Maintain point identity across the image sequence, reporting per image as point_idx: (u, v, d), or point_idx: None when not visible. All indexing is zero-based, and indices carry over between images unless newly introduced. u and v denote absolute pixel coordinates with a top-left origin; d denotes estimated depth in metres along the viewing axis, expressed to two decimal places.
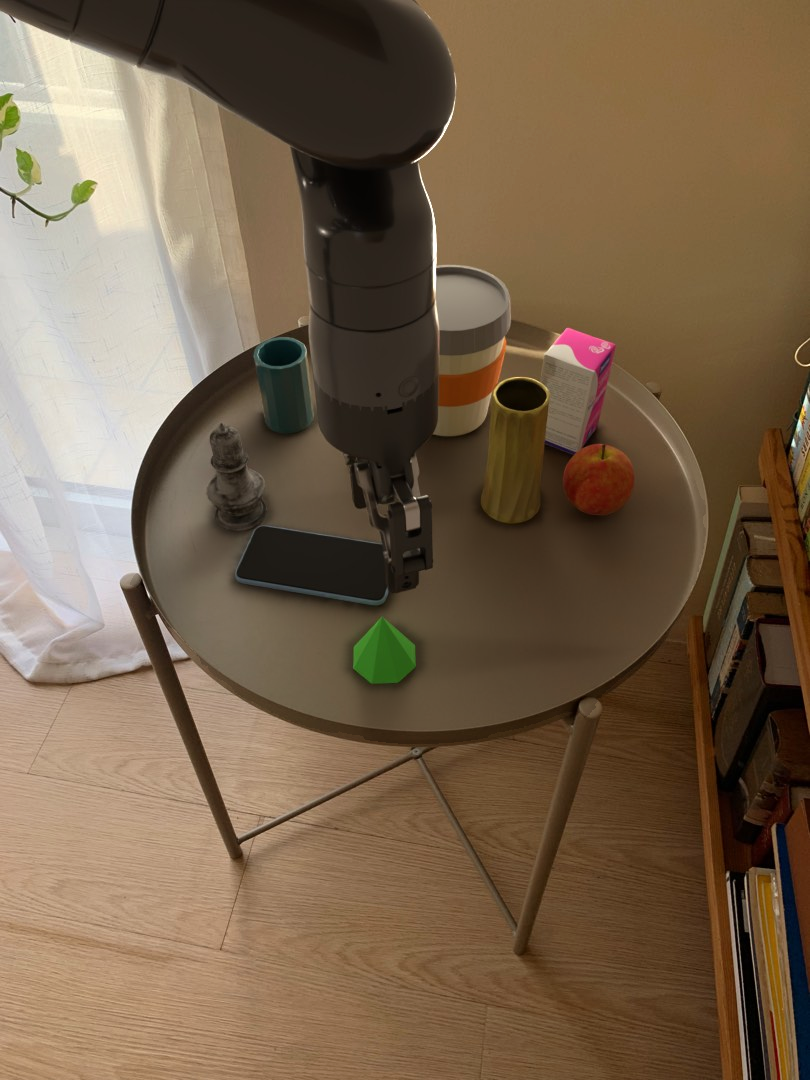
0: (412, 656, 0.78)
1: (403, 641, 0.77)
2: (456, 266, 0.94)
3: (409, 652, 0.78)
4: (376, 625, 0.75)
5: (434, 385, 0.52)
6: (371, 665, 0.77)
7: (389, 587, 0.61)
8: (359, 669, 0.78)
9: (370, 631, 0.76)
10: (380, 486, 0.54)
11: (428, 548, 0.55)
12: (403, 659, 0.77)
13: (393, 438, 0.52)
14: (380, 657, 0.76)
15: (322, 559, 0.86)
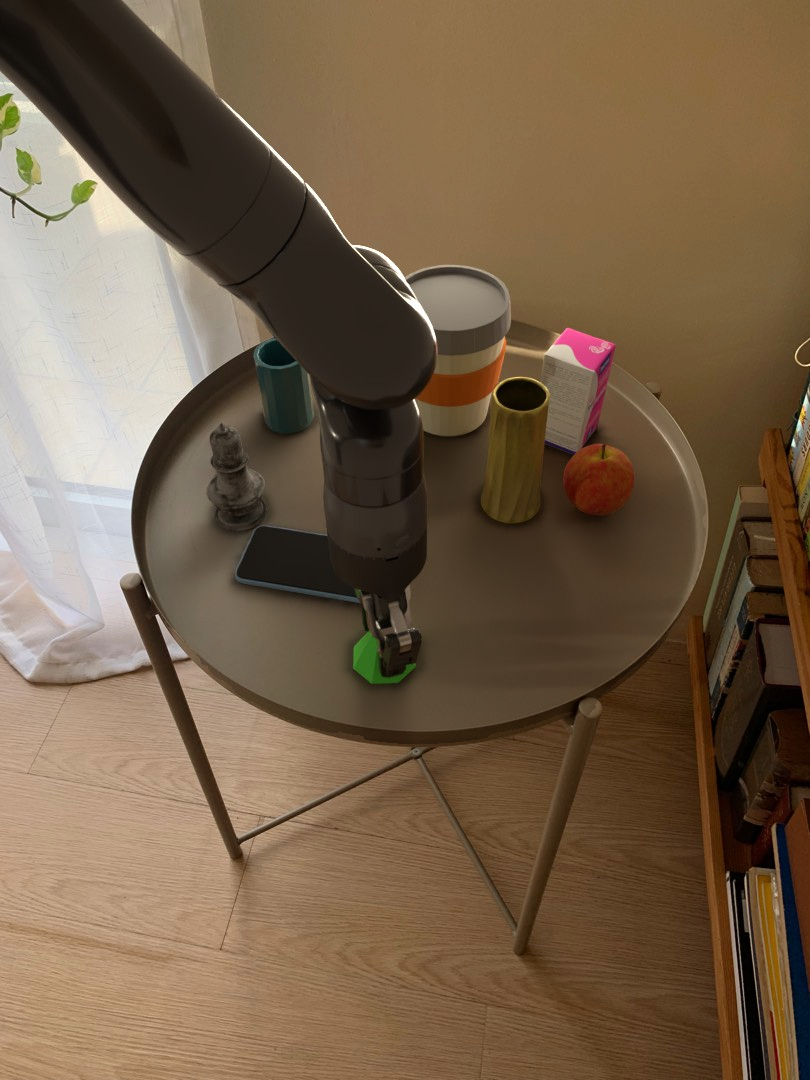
0: None
1: None
2: (456, 266, 0.94)
3: None
4: None
5: (423, 536, 0.65)
6: (371, 665, 0.77)
7: (382, 673, 0.75)
8: (359, 669, 0.78)
9: None
10: (380, 611, 0.67)
11: (414, 656, 0.70)
12: None
13: (391, 578, 0.65)
14: None
15: (322, 559, 0.86)
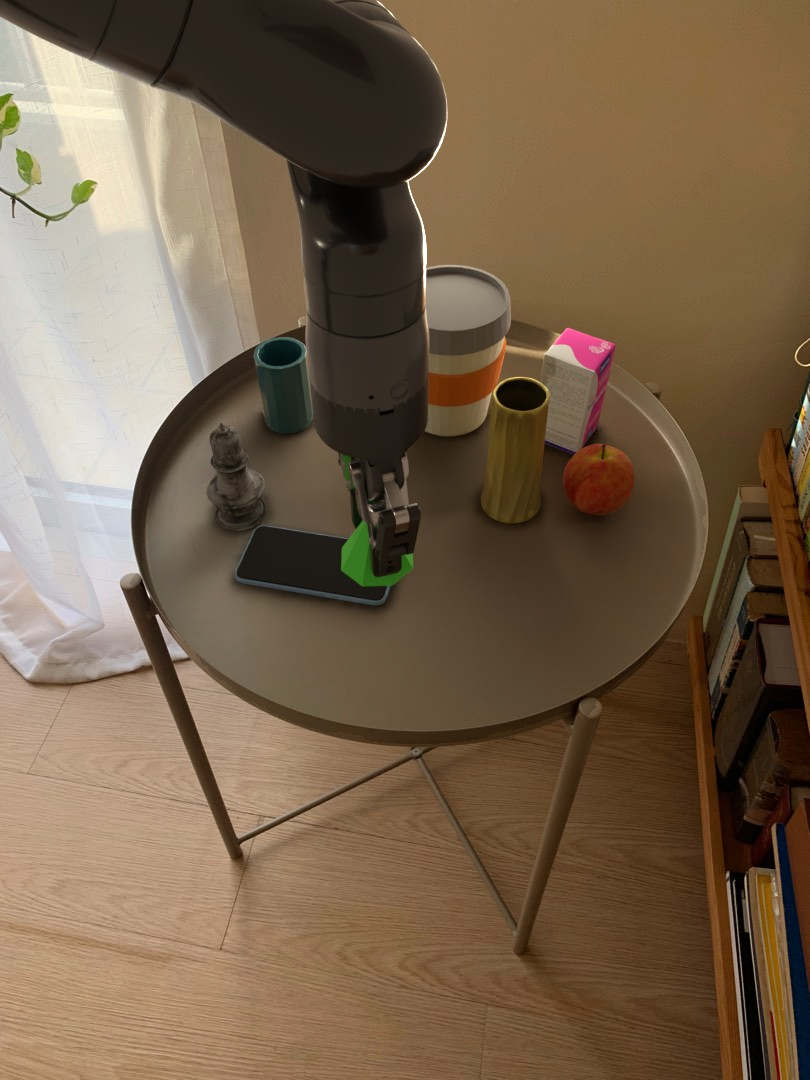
0: (409, 557, 0.68)
1: None
2: (456, 266, 0.94)
3: None
4: None
5: (424, 388, 0.55)
6: (362, 565, 0.66)
7: (374, 571, 0.65)
8: (348, 570, 0.67)
9: (361, 524, 0.66)
10: (372, 484, 0.57)
11: (412, 542, 0.59)
12: None
13: (385, 439, 0.55)
14: None
15: (322, 559, 0.86)
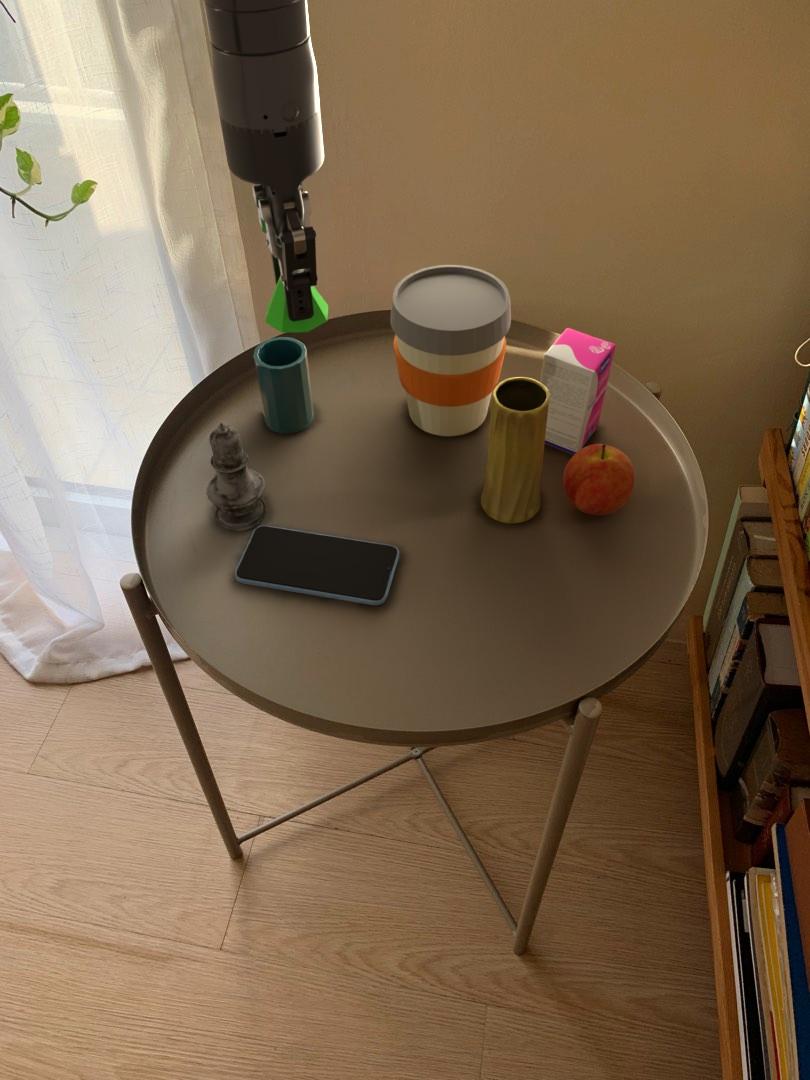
0: (323, 310, 0.78)
1: (314, 291, 0.78)
2: (456, 266, 0.94)
3: (321, 305, 0.78)
4: None
5: (314, 119, 0.65)
6: (281, 312, 0.77)
7: (289, 314, 0.76)
8: (270, 320, 0.78)
9: None
10: (276, 211, 0.68)
11: (313, 269, 0.70)
12: (313, 308, 0.77)
13: (282, 163, 0.65)
14: None
15: (322, 559, 0.86)
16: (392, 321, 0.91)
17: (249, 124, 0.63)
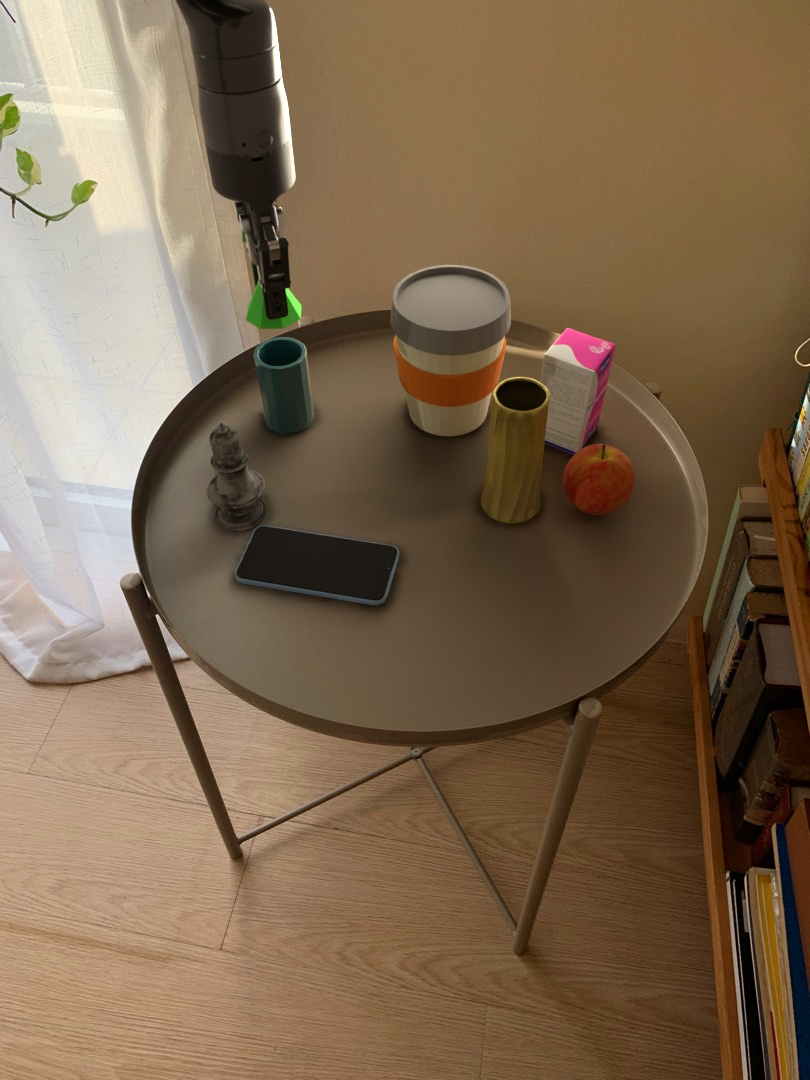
0: (297, 309, 0.90)
1: (288, 293, 0.89)
2: (456, 266, 0.94)
3: (295, 305, 0.89)
4: None
5: (286, 146, 0.76)
6: (260, 311, 0.88)
7: (266, 313, 0.87)
8: (250, 318, 0.89)
9: None
10: (254, 224, 0.79)
11: (286, 273, 0.81)
12: (288, 307, 0.89)
13: (259, 183, 0.77)
14: None
15: (322, 559, 0.86)
16: (392, 321, 0.91)
17: (230, 151, 0.74)
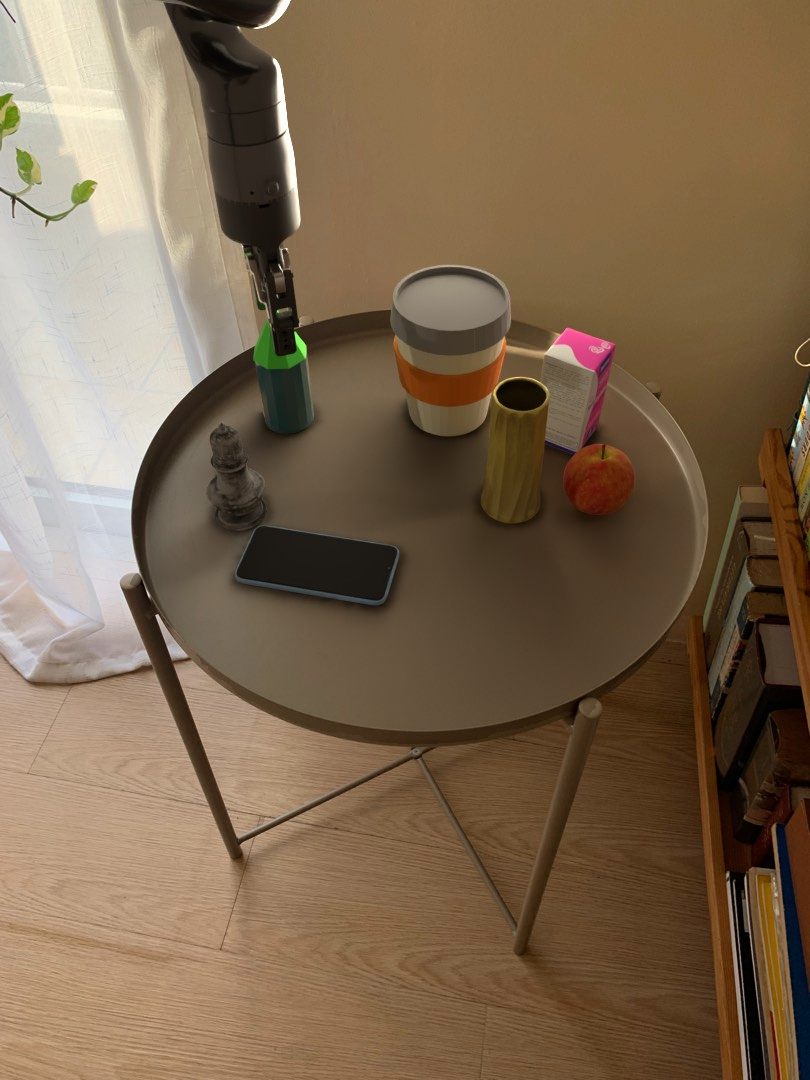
0: (302, 350, 0.93)
1: None
2: (456, 266, 0.94)
3: (300, 345, 0.93)
4: None
5: (292, 192, 0.79)
6: (266, 352, 0.92)
7: (275, 350, 0.88)
8: (257, 359, 0.93)
9: (265, 323, 0.92)
10: (261, 266, 0.82)
11: (294, 308, 0.83)
12: None
13: (265, 228, 0.80)
14: None
15: (322, 559, 0.86)
16: (392, 321, 0.91)
17: (238, 198, 0.78)
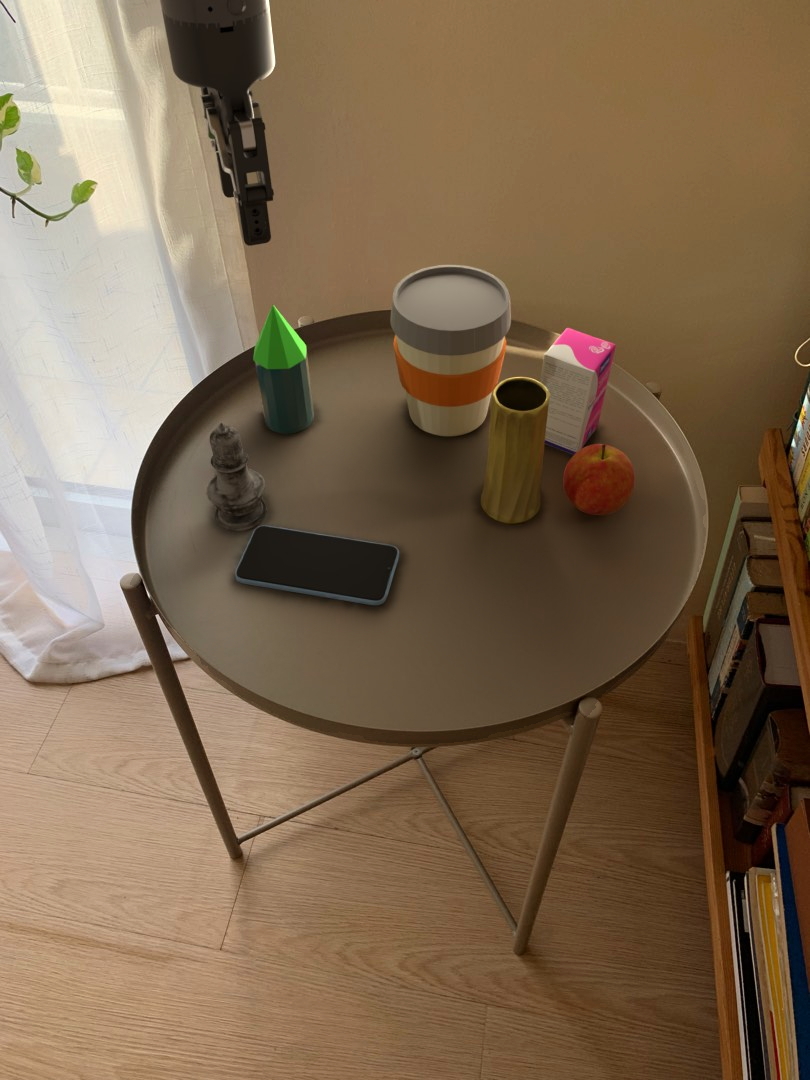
0: (302, 350, 0.93)
1: (294, 334, 0.93)
2: (456, 266, 0.94)
3: (300, 345, 0.93)
4: (268, 314, 0.91)
5: (263, 17, 0.62)
6: (266, 352, 0.92)
7: (244, 237, 0.70)
8: (257, 359, 0.93)
9: (265, 323, 0.92)
10: (224, 118, 0.64)
11: (266, 173, 0.65)
12: (293, 348, 0.92)
13: (229, 62, 0.62)
14: (273, 343, 0.91)
15: (322, 559, 0.86)
16: (392, 321, 0.91)
17: (193, 17, 0.60)
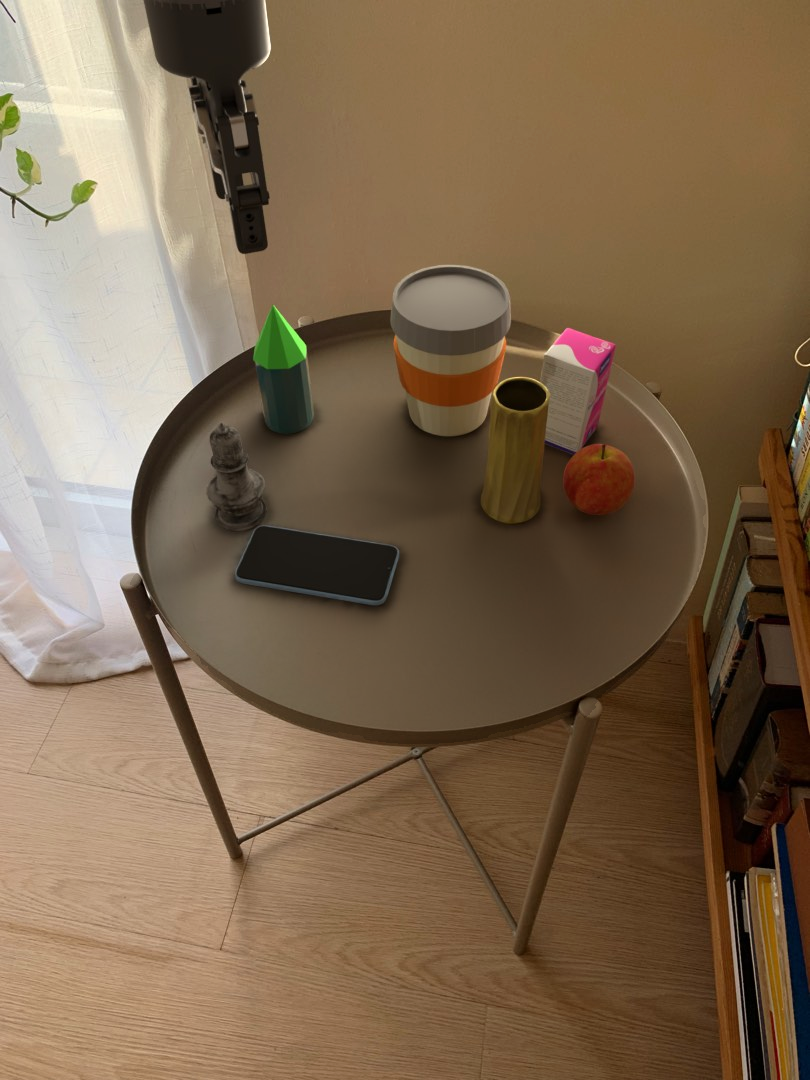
0: (302, 350, 0.93)
1: (294, 334, 0.93)
2: (456, 266, 0.94)
3: (300, 345, 0.93)
4: (268, 314, 0.91)
5: None
6: (266, 352, 0.92)
7: (238, 245, 0.63)
8: (257, 359, 0.93)
9: (265, 323, 0.92)
10: (213, 112, 0.57)
11: (260, 174, 0.58)
12: (293, 348, 0.92)
13: (217, 49, 0.55)
14: (273, 343, 0.91)
15: (322, 559, 0.86)
16: (392, 321, 0.91)
17: None
